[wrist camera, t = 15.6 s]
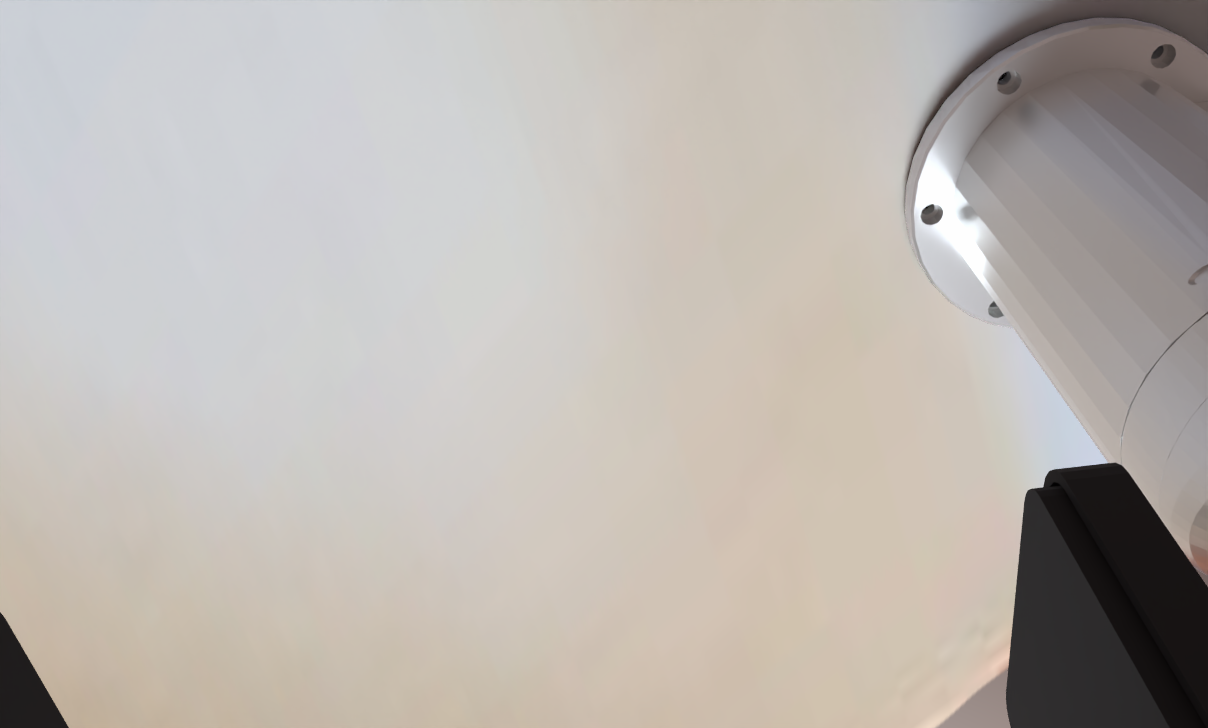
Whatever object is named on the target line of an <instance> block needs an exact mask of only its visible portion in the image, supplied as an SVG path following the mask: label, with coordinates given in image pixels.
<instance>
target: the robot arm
mask: <svg viewBox="0 0 1208 728" xmlns="http://www.w3.org/2000/svg"><path fill="white" fill-rule="evenodd" d="M1156 49H1157V50H1156ZM1155 50H1156V51H1155ZM1154 51H1155V52H1154ZM1153 52H1154V53H1153ZM1005 72H1007V74H1006V76H1005V78H1004V79H1002V80H1000V81H998V79H999V78H1000V77H1001V75H1002V74H1003V73H1005ZM928 205H930V207H929V208H927V209H925V210H923V209H924V208H925V207H926V206H928ZM905 219H906V225H907V230H908V236H909V241H910V244H911V246H912V248H913V251H914V253H915V255H916V258H917V260H918V262H919V265H920V266H921V268H922V269H923V271H924V272H925V274H926V275H927V277H928V278H929V280H930V282H931V283H932V285H933V286H934V287H935V288H936V289H937V290H938V291H939V292H940V293H941V294H942V295H943V296H944V297H945V298H946V299H947V300H948V301H949V302H950V303H951V304H953V305H954V306H956V307H957V308H959V309H960V310H962V311H963V312H965V313H967V314H968V315H970V316H972V317H974V318H977V319H979V320H981V321H984V322H986V323H989V324H992V325H997V326H1002V327H1008V328H1014V330H1015V331H1016V333H1017V334H1018V335H1019V337H1020V338H1021V340H1022V341H1023V343H1024V344H1025V345H1026V347H1027V348H1028V350H1029V351H1030V352H1031V354H1032V355H1033V357H1034V358H1035V360H1036V361H1037V362H1038V364H1039V365H1040V367H1041V368H1042V369H1043V371H1044V372H1045V374H1046V375H1047V377H1048V378H1049V379H1050V381H1051V382H1052V384H1053V385H1054V386H1055V388H1056V389H1057V391H1058V392H1059V394H1060V395H1061V396H1062V398H1063V399H1064V401H1065V402H1066V403H1067V405H1068V406H1069V408H1070V409H1071V411H1072V412H1073V413H1074V415H1075V416H1076V418H1077V419H1078V420H1079V422H1080V423H1081V425H1082V426H1083V428H1084V429H1085V430H1086V432H1087V433H1088V435H1089V436H1090V438H1091V439H1092V440H1093V442H1094V443H1095V445H1096V446H1097V447H1098V449H1099V450H1100V452H1101V453H1102V455H1103V456H1104V457H1105V459H1106V460H1107V462H1108V463H1107V464H1098V465H1090V466H1081V467H1072V468H1064V469H1055V470H1052V471H1049V472H1048V474H1047V476H1046V478H1045V482H1044V487H1043V488H1035V489H1030V490H1028V492H1027V493H1026V497H1025V502H1024V512H1023V522H1022V533H1021V543H1020V554H1019V564H1018V574H1017V585H1016V595H1015V606H1014V616H1013V627H1012V637H1011V647H1010V658H1009V668H1008V679H1007V689H1006V704H1007V711H1008V717H1009V722H1010V725H1011V728H1208V587H1207V585H1206V584H1205V582H1204V581H1203V580H1202V578H1201V577H1200V575H1199V574H1198V572H1197V571H1196V569H1198V570H1199V571H1201V572H1202V573H1204V574H1206V575H1207V576H1208V55H1207V53H1205V52H1204V51H1202V50H1201V49H1199V48H1198V47H1196V46H1195V45H1193V44H1192V43H1191V42H1189V41H1188V40H1186V39H1185V38H1183V37H1181V36H1179V35H1177V34H1175V33H1173V32H1171V31H1169V30H1167V29H1165V28H1163V27H1161V26H1159V25H1155V24H1151V23H1147V22H1142V21H1138V20H1134V19H1129V18H1091V19H1085V20H1079V21H1074V22H1068V23H1062V24H1059V25H1057V26H1054V27H1051V28H1048V29H1045V30H1043V31H1040V32H1037V33H1034V34H1032V35H1029V36H1027V37H1025V38H1023V39H1022V40H1020V41H1018V42H1016V43H1014V44H1013V45H1011V46H1009V47H1007V48H1005V49H1004V50H1002V51H1000V52H998V53H997V54H995V55H994V56H993V57H992V58H990V59H989V60H988V61H986V62H985V63H984V64H983V65H981V66H980V67H979V68H977V69H976V70H975V71H974V72H972V73H971V74H970V75H969V76H968V77H967V78H966V79H965V80H964V81H963V82H962V83H961V84H960V85H959V86H958V87H957V89H956V90H955V91H954V92H953V93H952V94H951V95H950V96H949V97H948V98H947V99H946V100H945V102H944V103H943V105H942V106H941V108H940V109H939V111H938V112H937V114H936V115H935V117H934V118H933V120H932V121H931V122H930V124H929V125H928V127H927V128H926V131H925V133H924V135H923V137H922V139H921V142H920V144H919V146H918V148H917V151H916V153H915V155H914V157H913V161H912V165H911V169H910V173H909V177H908V181H907V185H906V200H905ZM1193 566H1194V567H1195V568H1196V569H1195V568H1194V567H1193ZM0 728H69V727H68V726H67V724H66V722H65V721H64V719H63V717H62V715H61V714H60V712H59V710H58V708H57V707H56V705H55V703H54V702H53V700H52V698H51V696H50V695H49V693H48V691H47V690H46V688H45V686H44V684H43V683H42V681H41V679H40V678H39V676H38V674H37V672H36V671H35V669H34V667H33V666H32V664H31V662H30V660H29V659H28V657H27V655H26V653H25V652H24V650H23V648H22V647H21V645H20V643H19V641H18V640H17V638H16V636H15V635H14V633H13V631H12V629H11V628H10V626H9V624H8V623H7V621H6V619H5V618H4V616H3V615H2V614H1V613H0Z"/></svg>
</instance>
